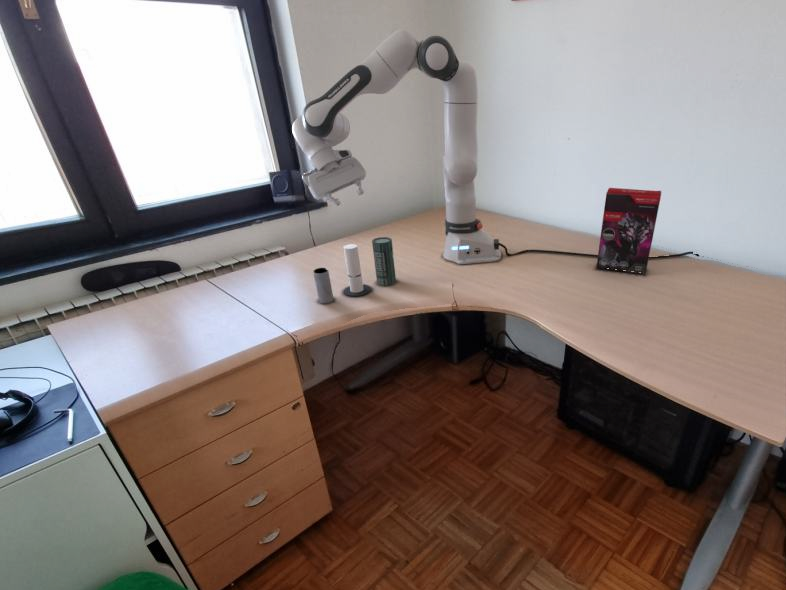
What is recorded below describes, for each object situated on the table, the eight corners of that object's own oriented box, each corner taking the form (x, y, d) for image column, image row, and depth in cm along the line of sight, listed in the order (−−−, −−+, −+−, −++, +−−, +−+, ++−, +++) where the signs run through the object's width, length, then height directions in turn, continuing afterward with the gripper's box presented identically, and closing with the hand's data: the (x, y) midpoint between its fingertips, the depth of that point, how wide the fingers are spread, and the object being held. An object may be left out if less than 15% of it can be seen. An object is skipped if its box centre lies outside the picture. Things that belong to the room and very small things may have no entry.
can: (398, 280, 158) (394, 238, 150) (389, 287, 154) (384, 244, 146) (383, 277, 161) (379, 236, 153) (374, 284, 156) (368, 241, 148)
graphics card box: (594, 269, 163) (606, 191, 148) (597, 262, 168) (608, 186, 154) (645, 276, 157) (662, 195, 143) (646, 268, 163) (662, 190, 148)
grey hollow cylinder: (336, 298, 147) (331, 268, 142) (328, 304, 143) (322, 274, 138) (324, 296, 148) (318, 266, 143) (316, 302, 145) (310, 272, 139)
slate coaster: (373, 285, 155) (373, 284, 155) (368, 296, 148) (368, 295, 147) (347, 285, 155) (347, 284, 155) (341, 297, 148) (340, 295, 148)
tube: (351, 287, 153) (344, 244, 145) (364, 286, 153) (357, 243, 145) (349, 292, 149) (342, 249, 142) (362, 292, 150) (356, 248, 142)
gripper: (300, 170, 145) (325, 207, 147) (353, 148, 154) (376, 183, 155) (298, 179, 151) (322, 215, 152) (350, 158, 160) (372, 192, 161)
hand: (350, 199), depth 154 cm, fingers open, 8 cm apart
